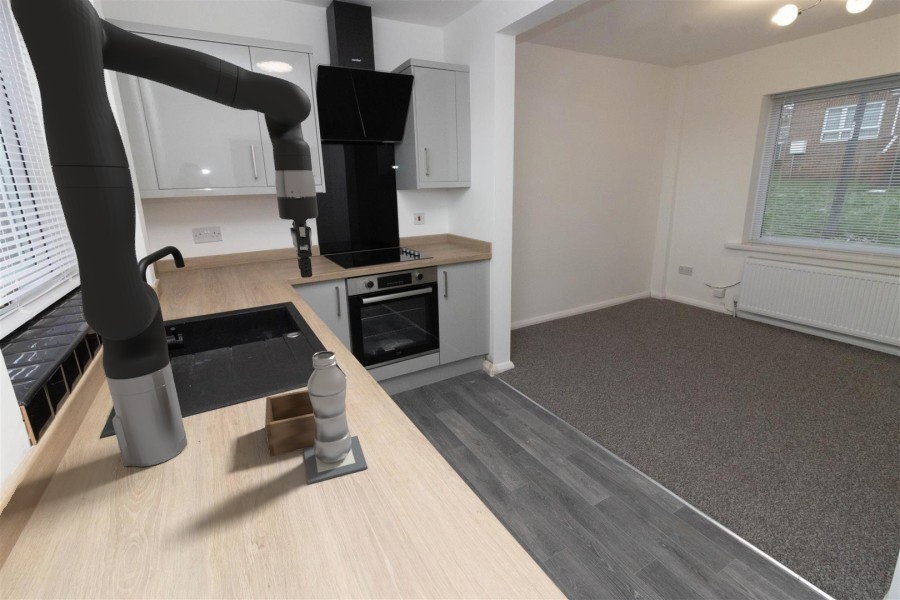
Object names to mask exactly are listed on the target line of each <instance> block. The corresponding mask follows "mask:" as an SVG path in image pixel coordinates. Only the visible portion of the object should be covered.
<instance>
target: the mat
mask: <svg viewBox="0 0 900 600" xmlns="http://www.w3.org/2000/svg"><path fill="white" fill-rule="evenodd" d="M351 439H352V444H351V450H350V452H349V453H348V455H347V456H346V457H345V458H344V459H342V460H341V461H338V462H335V463H324V462H321V461H320V460H319V459H318V458H317V457H316V455H315V452H314V446H311V447H307V448H304V449H303V450H304V459H305V460H304V461H305V470H306V478H307V485H310V484H311V485H312V484H315V483H317V482H318V483H319V482H322V481H326V480H330V479H333V478H337V477H340V476H345V475H349V474H352V473H357V472H359V471H364V470H367V469H369V468H368V464H367V461H366V458H365V455H364V452H363V448H362V446H361V443H360V440H359V436H358V435H354V436H351Z"/></svg>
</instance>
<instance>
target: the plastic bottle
mask: <svg viewBox="0 0 900 600" xmlns="http://www.w3.org/2000/svg"><path fill="white" fill-rule="evenodd" d="M336 357H337V356H336V353H335V352H334V351H331V350H323V351H322V350H321V351H319V352H316V353H314V354H313V355H312V367H313V369H314V370H313V371H312V373H311V375H310V377H309V379H308V381H307V387H306V388H307V390H308V392H309V396H310V400H311V403H312V408H313V413H314V420H315V437H314V452H315V455H316V457H317V458H318V459H319V460H320V461H321V462H324V463H335V462H338V461H341V460H342V459H344V458H345V457H346V456H347V455H348V453H349V452H350V450H351V444H352V439H351V437H352V436H351V432H350V429H349V424H348V419H347V411H346V397H347V378H346V376H345V374H344V372H343V371H342V370H341V369H340V368H339V367H338V366H337V364H338V362H337V358H336Z"/></svg>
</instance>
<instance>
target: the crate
mask: <svg viewBox="0 0 900 600" xmlns="http://www.w3.org/2000/svg"><path fill="white" fill-rule="evenodd" d="M265 401H266V402H265V417H264V418H265V421H264V425H265V426H264V427H265V433H266V434H265V435H266V439H267V446H268V452H269V457H272V456H277V455H282V454H286V453H291V452H294V451H298V450H304V448H307V447H311V446H314V437H315V420H314V413H313V408H312V403H311V400H310V396H309V392H308V389H304V390H298V391H294V392H289V393H288V392H287V393H283V394H278V395H277V394H276V395H273V396H267V397H266V398H265Z"/></svg>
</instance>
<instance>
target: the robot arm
mask: <svg viewBox="0 0 900 600" xmlns="http://www.w3.org/2000/svg"><path fill="white" fill-rule="evenodd" d="M9 2H10V3H9V4H10V9H11V13H12V15H13V17H14V20H15V22H16V24H17V28H18V30H19V31H20V32H19V33H20V35H21V37H22V40H23V43H24V45H25V48H26V50H27V53H28V56H29V59H30V62H31V65H32V68H33V72H34V74H35V77H36V78H35V79H36V83H37V85H38V90H39V95H40V102H41V111H42V112H41V113H42V121H43V128H44V136H45V141H46V147H47V151H48V158H49V164H50V167H51V172H52V177H53V181H54V183H55V184H54V185H55V187H56V188H55V189H56V193H57V196H58V200H59V202H60V205H61V209H62V213H63V216H64V220H65V225H66V226H67V231H68V232H69V236H70V240H71V242H72V245H73V248H74V251H75V255H76V261H77V265H78V273H79V275H78V276H79V283H80V291H81V292H80V293H81V304H82V305H81V306H82V314H83V317H84V320H85V322H86V323H87V325H88V326H89V327H90V329H91V330H92V331H93V332H94V333H96V334H97V335H99V336H100V337H101V342H102V367H103V372H104V375H105V377H106V378H105V379H106V381H107V385H108V389H109V393H110V396H111V401H112V404H113V408H114V412H115V415H114V416H113V418H112V421H111V422H112V425H113V429H114V434H115V437H116V440H117V445H118V448H119V451H120V455H121V459H122V462H123V465H124V467H129V466H134V467H141V468H143V467H150V466H155V465H158V464H161V463H164V462H166V461H168V460H171V459H173V458H174V457H176V456H178V455H179V454H181V452H183V451H184V450H185V448H186V447H187V445H188V439H187V433H186V429H185V425H184V421H183V416H182V411H181V407H180V402H179V398H178V393H177V390H176V384H175V380H174V375H173V371H172V370H173V369H172V365H171V361H170V357H169V348H168V337H167V333H166V329H165V324H164V323H165V322H164V318H163V313H162V312H163V311H162V307H161V303H160V300H159V296H158V293H157V292H156V290H155V289H154V288H153V287H152V286H151V285H150V284H149V283H148V282H146V281H145V280H143V276H142V273H141V269H140V265H139V263H138V258H137V257H138V256H137V251H136V231H137V230H136V229H137V227H136V226H137V214H136V211H137V209H136V196H135V189H134V183H133V177H132V173H131V169H130V163H129V160H128V156H127V152H126V148H125V145H124V141H123V139H122V135H121V132H120V129H119V126H118V123H117V119H116V118H115V114H114V112H113V109H112V106H111V103H110V99H109V95H108V91H107V85H106V78H105V77H106V76H105V70H108V71H110V72H111V71H112V72H117V73H121V74H125V75H130V76H134V77H138V78H141V79H145V80H148V81H152V82H155V83H159V84H161V85H164V86H168V87H171V88H173V89H177V90H179V91H183V92H185V93H188V94H191V95H194V96H197V97H200V98H203V99H205V100H209V101H211V102H214V103H217V104H220V105H223V106H226V107H228V108H229V107H230V108H232V109H235V110H240V111H254V112H258V113H260V114H263V116H264V121H265V125H266V130H267V132H268V137H269V139H270V142H271V145H272V157H273V158H272V159H273V165H274V171H275V172H274V175H275V176H274V178H275V181H274V182H275V183H274V184H275V192H276V199H277V200H276V201H277V206H278V207H277V209H278V216H279V218H280V219H281V220H287V221H290V220H292V223H291V225H292V227H289V230H290V236H291V238H292V246H293V247H294V251H296V256H297V264H298V269H299V270H300V271H299V272H300V277H301V278H303V279H307V278H312V277H313V267H312V261H311V260H312V257H313V253H312V249H313V240H312V235H313V233H312V228H311V226H308V225H307V220H311V219H312V220H313V219H317V218H318V217H319V210H318V209H319V208H318V200H317V199H318V198H317V190H316V181H315V177H314V171H313V165H312V154H311V152H312V151H311V148H310V145H309V144H308V142H307V141H306V140H305V139H304V135H303V130H302V123H303V122H305V121H306V120H307V119H308V117H309V116H310V114H311V112H312V103H311V100H310V97H309V96H308V94H307V93H306V91H305V90H304V89H303V88H302V87H300V86H299V85H297V84H296V83H294V82H292V81H289V80H287V79H284V78H280V77H277V76H273V75H269V74H265V73H262V72H256V71H252V70H248V69H246V68H243V67H242V66H240V65H237V64H235V63H232V62H229V61H227V60H225V59H222V58H219V57H216V56H214V55H212V54H209V53H205V52H202V51H200V50H196V49H191V48H188V47H184V46H178V45H174V44H171V43H166V42H160V41H158V40H153V39H151V38H147V37H144V36H141V35H139V34H136V33H133V32H131V31H128V30H126V29H124V28H122V27H119V26H117V25H115V24H114V23H112V22H109V21H107V20H106V19H103V18H101V17H100V15H99V13H98V12H97V10H96V8H95V7H94V5H93V4H92V2H91V1H90V0H9Z"/></svg>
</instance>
